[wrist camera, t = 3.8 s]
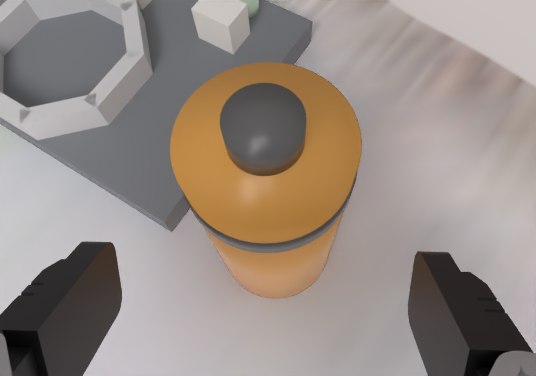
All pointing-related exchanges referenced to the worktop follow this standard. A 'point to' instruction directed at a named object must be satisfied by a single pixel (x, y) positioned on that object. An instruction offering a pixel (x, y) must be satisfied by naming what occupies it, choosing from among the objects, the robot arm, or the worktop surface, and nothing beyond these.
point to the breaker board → (127, 80)
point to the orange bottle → (268, 171)
